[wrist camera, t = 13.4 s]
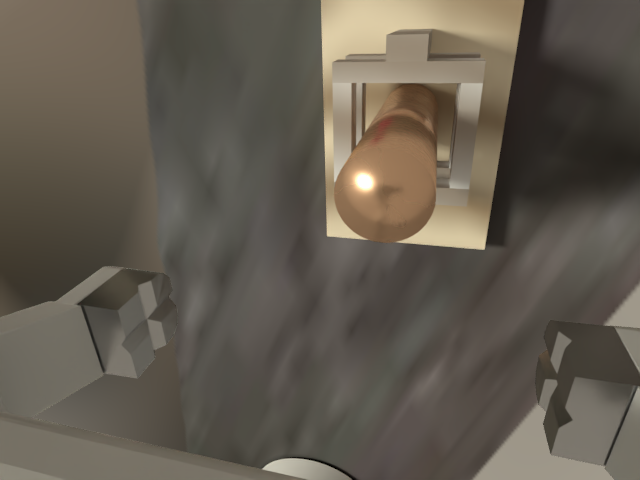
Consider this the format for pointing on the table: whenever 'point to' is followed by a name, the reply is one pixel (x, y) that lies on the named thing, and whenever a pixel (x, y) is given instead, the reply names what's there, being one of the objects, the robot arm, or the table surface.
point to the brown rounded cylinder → (392, 169)
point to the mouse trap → (441, 79)
